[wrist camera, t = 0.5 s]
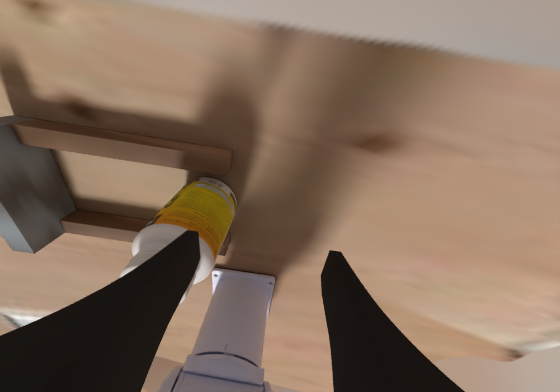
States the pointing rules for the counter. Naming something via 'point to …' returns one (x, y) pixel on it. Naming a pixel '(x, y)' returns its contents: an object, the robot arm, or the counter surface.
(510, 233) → the counter surface
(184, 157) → the guide track
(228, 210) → the supplement bottle
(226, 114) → the counter surface
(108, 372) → the robot arm
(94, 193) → the counter surface
